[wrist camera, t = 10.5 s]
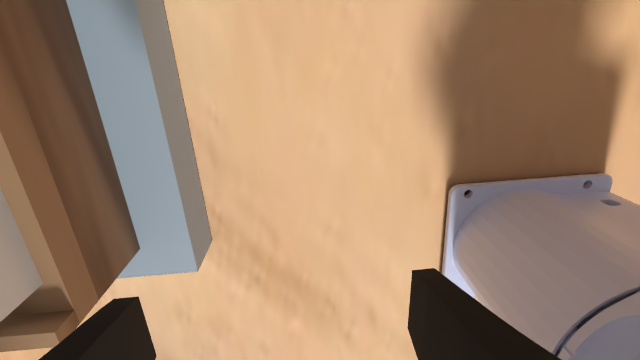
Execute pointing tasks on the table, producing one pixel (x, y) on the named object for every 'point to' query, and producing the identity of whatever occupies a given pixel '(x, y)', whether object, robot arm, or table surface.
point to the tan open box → (56, 174)
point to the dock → (145, 130)
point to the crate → (14, 264)
